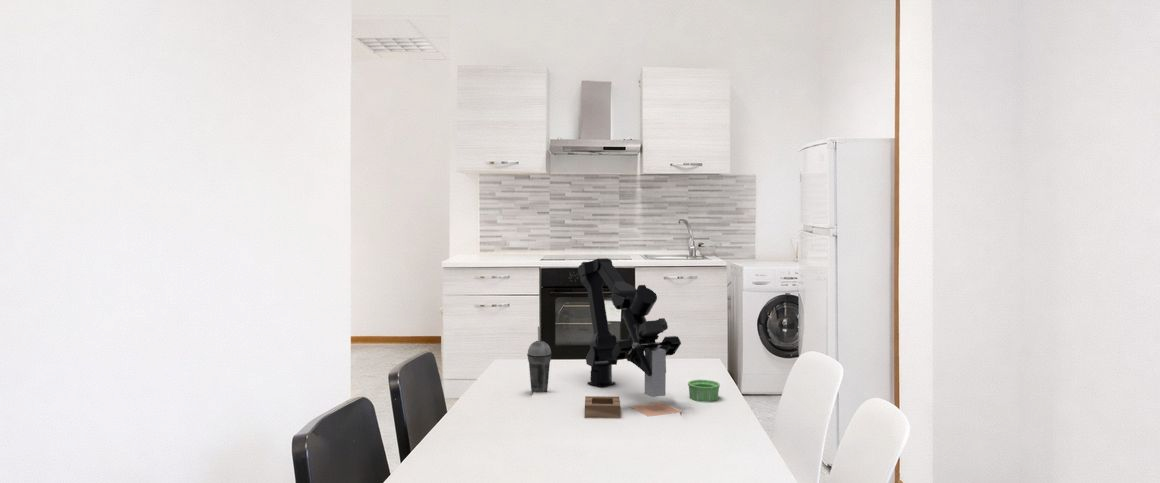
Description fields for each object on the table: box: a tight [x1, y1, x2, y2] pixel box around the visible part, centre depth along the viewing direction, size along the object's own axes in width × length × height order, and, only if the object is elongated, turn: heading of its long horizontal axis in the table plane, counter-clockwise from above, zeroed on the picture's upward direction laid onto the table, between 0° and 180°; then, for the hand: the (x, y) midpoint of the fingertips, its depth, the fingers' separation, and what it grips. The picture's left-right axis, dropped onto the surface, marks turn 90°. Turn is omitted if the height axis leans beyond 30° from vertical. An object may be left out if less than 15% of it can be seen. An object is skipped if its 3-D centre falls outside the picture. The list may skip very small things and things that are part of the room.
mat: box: [629, 401, 683, 417], centre depth 165 cm, size 10×10×1 cm
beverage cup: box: [527, 326, 552, 395], centre depth 184 cm, size 7×7×20 cm
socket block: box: [584, 395, 621, 419], centre depth 161 cm, size 9×9×4 cm
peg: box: [644, 347, 667, 398], centre depth 165 cm, size 4×4×12 cm
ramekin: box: [687, 379, 721, 402], centre depth 179 cm, size 9×9×4 cm
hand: (657, 374), depth 163 cm, fingers closed on peg, 4 cm apart
